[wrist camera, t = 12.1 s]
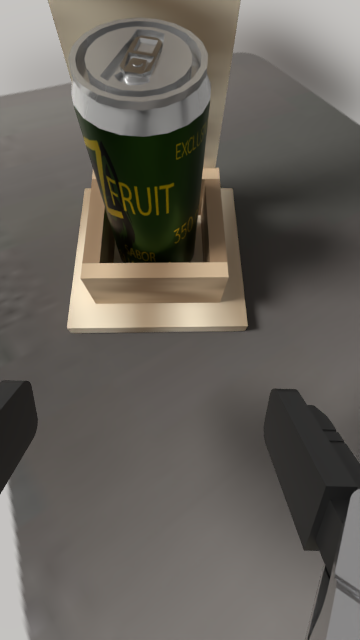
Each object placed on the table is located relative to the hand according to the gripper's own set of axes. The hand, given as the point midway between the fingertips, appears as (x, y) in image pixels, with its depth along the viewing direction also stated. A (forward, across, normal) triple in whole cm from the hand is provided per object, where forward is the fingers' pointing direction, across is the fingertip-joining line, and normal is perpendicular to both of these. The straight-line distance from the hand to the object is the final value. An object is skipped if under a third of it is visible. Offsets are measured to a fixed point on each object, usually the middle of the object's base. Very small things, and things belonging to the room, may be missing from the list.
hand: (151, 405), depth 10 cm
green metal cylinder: (+14, +1, -2) cm, 14 cm away
